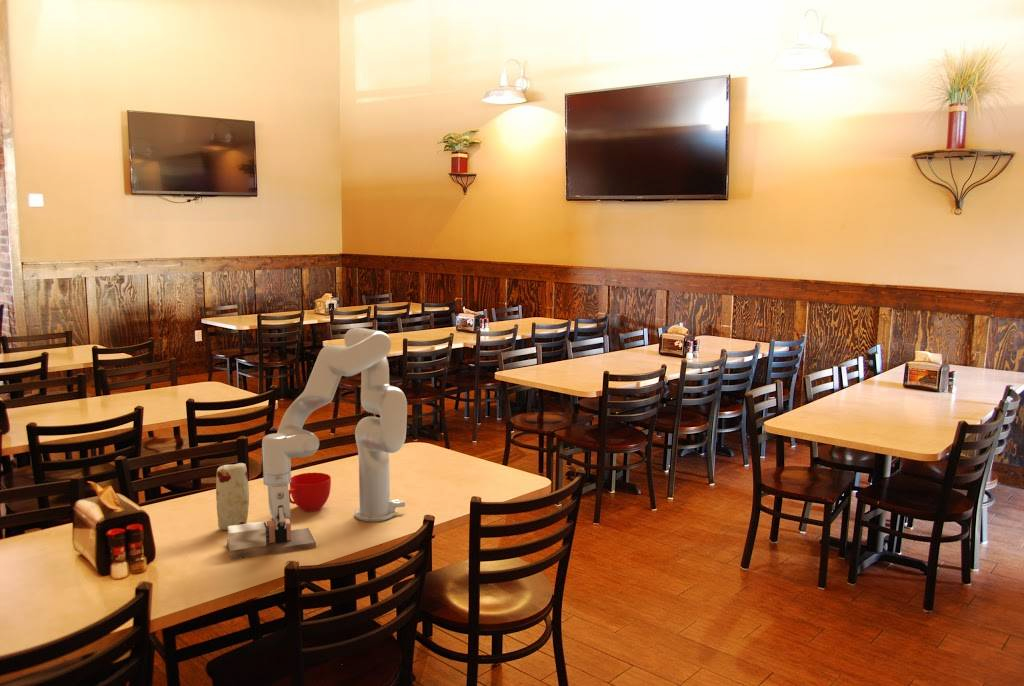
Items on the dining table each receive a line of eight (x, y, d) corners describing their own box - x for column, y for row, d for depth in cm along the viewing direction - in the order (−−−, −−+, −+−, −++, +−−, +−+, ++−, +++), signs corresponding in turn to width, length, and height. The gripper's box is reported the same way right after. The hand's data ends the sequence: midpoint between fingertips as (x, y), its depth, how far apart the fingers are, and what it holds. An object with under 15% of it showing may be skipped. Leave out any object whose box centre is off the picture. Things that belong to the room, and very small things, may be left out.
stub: (289, 535, 236) (288, 518, 235) (291, 539, 232) (290, 523, 231) (267, 538, 233) (267, 521, 233) (269, 542, 230) (268, 526, 229)
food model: (222, 534, 240) (219, 469, 237) (213, 528, 245) (210, 464, 242) (254, 526, 247) (251, 462, 244) (244, 520, 252) (241, 458, 249)
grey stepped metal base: (308, 532, 242) (307, 511, 241) (315, 547, 231) (315, 525, 230) (227, 544, 233) (226, 522, 232) (230, 560, 222) (229, 537, 221)
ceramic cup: (272, 514, 257) (271, 484, 256) (309, 499, 272) (308, 470, 270) (304, 521, 251) (303, 490, 250) (339, 505, 266) (339, 476, 264)
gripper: (295, 484, 224) (297, 546, 226) (286, 467, 239) (288, 525, 242) (267, 488, 221) (269, 550, 223) (259, 470, 236) (261, 529, 239)
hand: (279, 537), depth 233 cm, fingers open, 6 cm apart
